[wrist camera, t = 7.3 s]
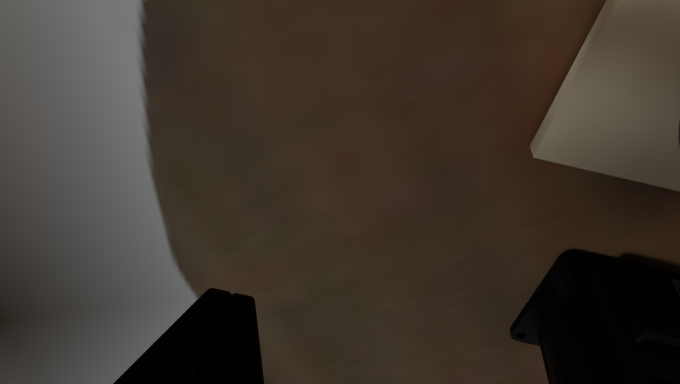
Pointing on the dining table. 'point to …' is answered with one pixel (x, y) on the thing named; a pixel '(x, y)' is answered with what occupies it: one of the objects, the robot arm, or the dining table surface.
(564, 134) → the bench
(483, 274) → the dining table surface
